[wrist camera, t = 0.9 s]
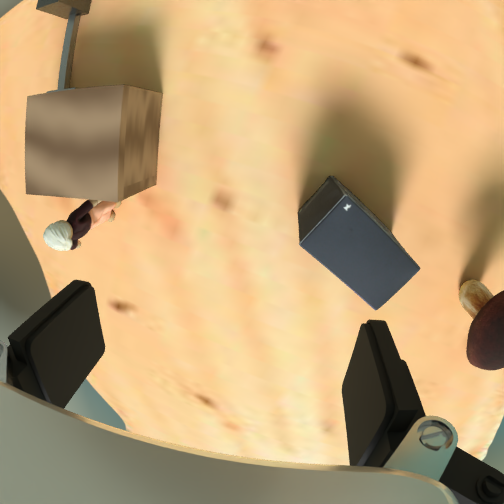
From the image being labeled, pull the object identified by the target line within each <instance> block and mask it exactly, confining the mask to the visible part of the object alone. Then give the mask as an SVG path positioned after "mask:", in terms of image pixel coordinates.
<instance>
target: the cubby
mask: <svg viewBox="0 0 504 504" xmlns="http://www.w3.org/2000/svg"><path fill="white" fill-rule="evenodd" d="M162 95H163V93H159V92H155V91H151V90H146V89H142V88H137V87H133V86H128V85H111V86H99V87H89V88H80V89H71V90H64V91H57V92H50V93H44V94H38V95H32V96H27V109H26V127H25V180H26V194H31V195H44V196H56V197H67V198H78V199H89V200H99V201H109V202H120V201H122V200H124V199H126V198H128V197H130V196H132V195H134V194H137V193H139V192H141V191H143V190H145V189H147V188H150V187H152V186H154V185H156V175H157V157H158V141H159V128H160V116H161V105H162Z"/></svg>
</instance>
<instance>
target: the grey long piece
mask: <svg viewBox="0 0 504 504" xmlns="http://www.w3.org/2000/svg"><path fill="white" fill-rule="evenodd" d="M90 4H91V0H38V3H37V7H36V9H37V10H40V11H43V12H47V13H50V14H53V15H56V16H59V17H62V18H64V19H68V23H67V29H66V34H65V39H64V45H63V51H62V58H61V65H60V72H59V81H58V90H54V91H48V92H47V93H50V92H57V91H64V90H71V89H80V88H69V86H70V77H71V69H72V61H73V55H74V48H75V42H76V36H77V31H78V26H79V21H80V16H81V15H86V14H88V13H89V9H90Z"/></svg>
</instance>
